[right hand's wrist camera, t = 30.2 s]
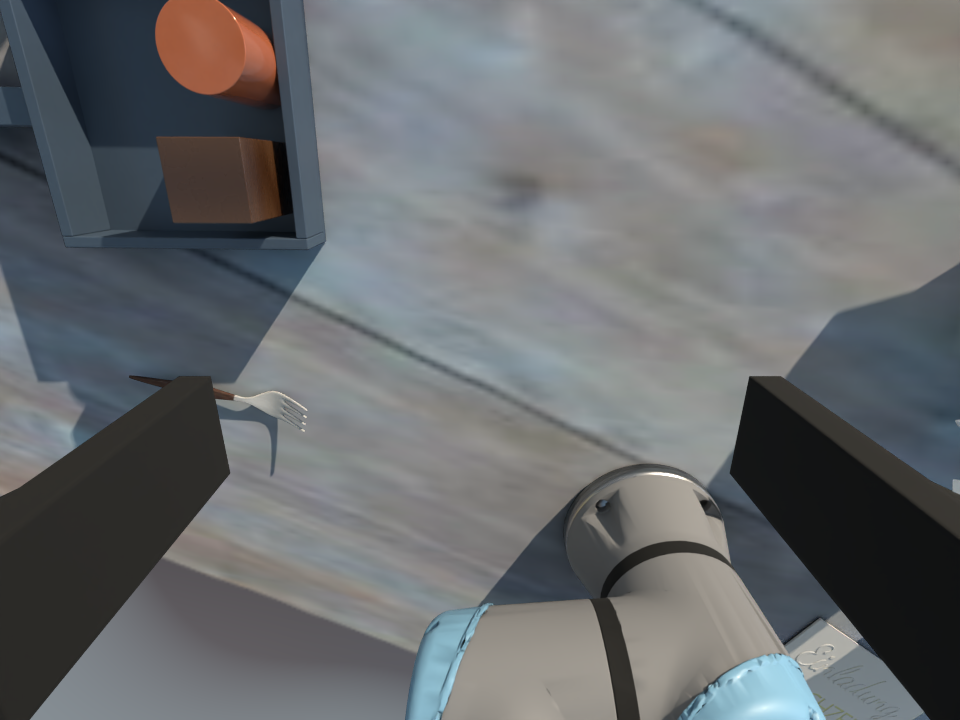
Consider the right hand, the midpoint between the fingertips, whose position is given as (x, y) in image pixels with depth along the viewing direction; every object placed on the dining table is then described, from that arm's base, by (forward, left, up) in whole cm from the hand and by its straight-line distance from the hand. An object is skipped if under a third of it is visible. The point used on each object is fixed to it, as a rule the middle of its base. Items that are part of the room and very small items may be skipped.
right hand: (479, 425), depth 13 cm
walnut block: (+5, +17, -30) cm, 35 cm away
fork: (-13, +23, -31) cm, 41 cm away
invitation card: (-52, -41, -31) cm, 73 cm away
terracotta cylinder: (+12, +16, -30) cm, 36 cm away
